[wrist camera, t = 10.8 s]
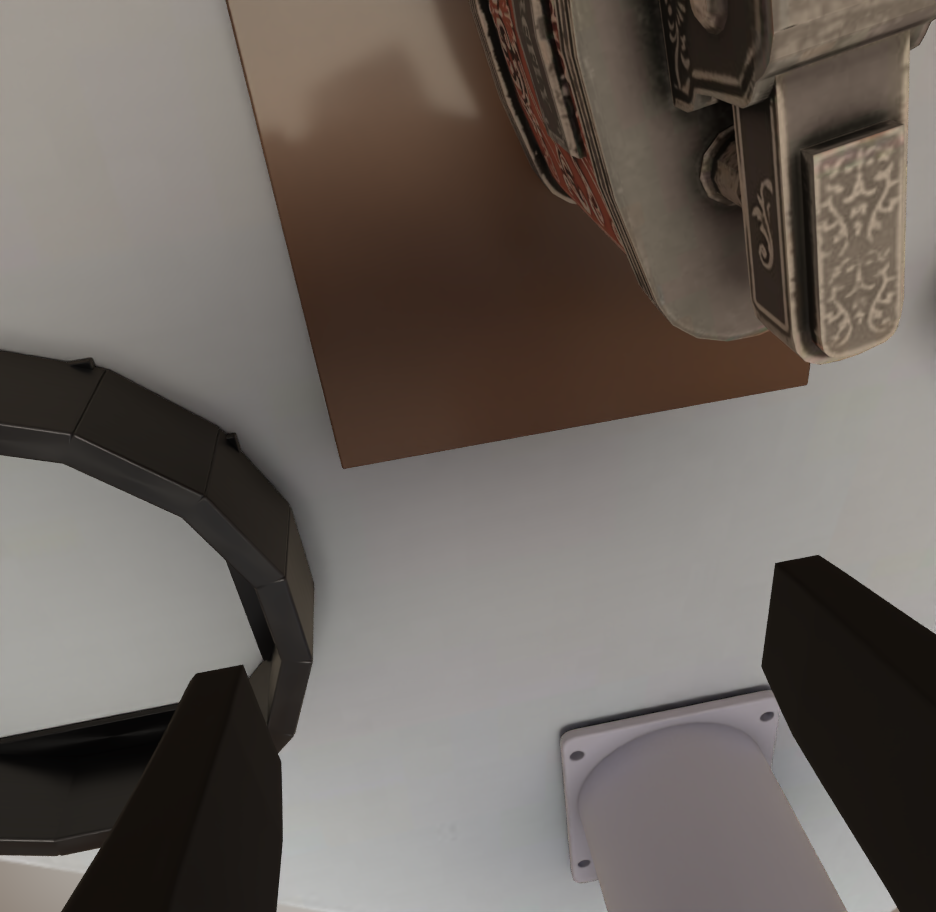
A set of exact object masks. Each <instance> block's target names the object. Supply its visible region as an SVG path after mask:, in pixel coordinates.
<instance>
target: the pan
mask: <svg viewBox="0 0 936 912" xmlns="http://www.w3.org/2000/svg"><path fill="white" fill-rule="evenodd" d="M0 455H4V456H11V457H19V458H26V459H33V460H41V461H48V462H55V463H63V464H65V465H67V466H70V467H72V468H74V469H76V470H78V471H81V472H83V473H85V474H87V475H89V476H92V477H94V478H96V479H98V480H100V481H103V482H105V483H107V484H109V485H111V486H114V487H116V488H118V489H120V490H122V491H125V492H127V493H129V494H131V495H133V496H136V497H138V498H140V499H142V500H144V501H147V502H149V503H151V504H153V505H155V506H158V507H160V508H162V509H164V510H166V511H168V512H171V513H173V514H175V515H177V516H179V517H182V518H183V519H184V520H185V521H186V522H187V523H188V524H189V525H190V526H191V527H192V528H193V529H194V530H195V531H196V532H197V533H198V534H199V535H200V536H201V537H202V538H203V539H204V540H205V541H206V542H207V543H208V544H209V545H211V546H212V547H213V548H214V549H215V550H216V551H217V552H218V553H219V554H220V555H221V556H222V557H223V558H224V559H225V560H226V562H227V565H228V568H229V570H230V573H231V576H232V578H233V581H234V584H235V586H236V589H237V591H238V594H239V597H240V599H241V602H242V605H243V607H244V610H245V613H246V615H247V618H248V621H249V623H250V626H251V629H252V631H253V634H254V637H255V639H256V642H257V644H258V647H259V650H260V652H261V655H262V658H263V660H264V661H263V662H262V663H261V665H260V666H259V667H258V668H257V669H256V671H255V672H254V673H253V674H252V675H251V677H250V678H249V681H250V684H251V686H252V689H253V691H254V694H255V696H256V699H257V701H258V704H259V707H260V709H261V712H262V714H263V717H264V719H265V722H266V724H267V727H268V730H269V732H270V735H271V737H272V740H273V742H274V745H275V747H276V750H277V753H279V752H280V751H281V750H282V748H283V747H284V746H285V745H286V744H287V743H288V742H289V741H290V740H291V739H292V737H293V736H294V734H295V732H296V728H297V724H298V720H299V716H300V712H301V708H302V704H303V699H304V695H305V691H306V687H307V683H308V679H309V675H310V671H311V667H312V663H313V623H314V582H313V579H312V575H311V572H310V569H309V566H308V562H307V559H306V556H305V552H304V549H303V546H302V542H301V539H300V536H299V533H298V529H297V526H296V523H295V519H294V516H293V513H292V509H291V507H290V506H289V503H288V502H287V501H286V500H285V499H284V498H283V497H282V496H281V494H280V493H279V492H278V491H277V490H276V489H275V488H274V487H273V486H272V485H271V483H270V482H269V481H268V480H267V479H266V478H265V477H264V476H263V475H262V474H261V472H260V471H259V470H258V469H257V468H256V467H255V466H254V465H253V464H252V463H251V461H250V460H249V459H248V458H247V457H246V456H245V455H244V454H243V453H242V452H241V449H240V446H239V443H238V440H237V436H236V434H235V433H232V434H225V433H224V432H223V431H222V430H221V429H219V427H218V426H216V425H214V424H212V423H210V422H208V421H206V420H204V419H202V418H201V417H199V416H197V415H195V414H193V413H191V412H189V411H187V410H185V409H183V408H181V407H179V406H177V405H175V404H174V403H172V402H170V401H168V400H166V399H164V398H162V397H160V396H158V395H156V394H154V393H152V392H150V391H148V390H147V389H145V388H143V387H141V386H139V385H137V384H135V383H133V382H131V381H129V380H127V379H125V378H123V377H122V376H120V375H118V374H116V373H114V372H112V371H110V370H105V369H104V368H99V367H95V365H94V363H93V361H92V359H91V358H88V359H82V360H76V361H71V362H63V361H57V360H51V359H45V358H39V357H33V356H27V355H21V354H15V353H9V352H3V351H0ZM177 706H178V704H176V705H171V706H166V707H161V708H156V709H151V710H146V711H141V712H135V713H130V714H125V715H120V716H115V717H110V718H105V719H100V720H95V721H90V722H85V723H79V724H74V725H69V726H64V727H59V728H54V729H49V730H44V731H39V732H34V733H29V734H23V735H18V736H13V737H8V738H3V739H0V855H23V856H58V855H61V856H63V855H68V854H72V853H77V852H82V851H87V850H92V849H97V848H101V847H102V845H103V843H104V841H105V840H106V838H107V836H108V835H109V833H110V831H111V829H112V828H113V826H114V824H115V822H116V820H117V819H118V817H119V815H120V813H121V812H122V810H123V808H124V806H125V804H126V803H127V801H128V799H129V797H130V796H131V794H132V792H133V790H134V788H135V787H136V785H137V783H138V781H139V780H140V778H141V776H142V774H143V772H144V770H145V768H146V766H147V765H148V763H149V761H150V759H151V757H152V755H153V753H154V751H155V750H156V748H157V746H158V744H159V742H160V740H161V738H162V736H163V734H164V732H165V730H166V728H167V726H168V724H169V722H170V720H171V718H172V716H173V714H174V712H175V710H176V708H177Z"/></svg>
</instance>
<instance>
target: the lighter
mask: <svg viewBox="0 0 936 912" xmlns="http://www.w3.org/2000/svg"><path fill="white" fill-rule="evenodd" d="M469 3H470V8H471V12H472V15H473V18H474V21H475V24H476V27H477V30H478V33H479V36H480V39H481V42H482V45H483V49H484V52H485V55H486V58H487V61H488V64H489V67H490V70H491V73H492V76H493V79H494V82H495V86H496V89H497V92H498V95H499V98H500V100H501V102H502V104H503V106H504V109H505V111H506V113H507V115H508V117H509V120H510V122H511V124H512V126H513V128H514V130H515V133H516V135H517V137H518V139H519V141H520V144H521V146H522V148H523V150H524V152H525V155H526V157H527V159H528V161H529V163H530V165H531V168H532V169H533V170H534V172H535V173H536V174H537V176H538V177H539V178H540V180H541V181H542V182H543V183H544V185H545V186H546V187H547V188H548V189H549V190H550V191H551V192H552V193H553V194H555V195H556V196H558V197H560V198H562V199H563V200H565V201H567V202H569V203H573V204H578V205H579V206H580V208H581V209H582V210H583V211H584V212H585V213H586V214H587V215H588V216H589V217H590V218H591V219H592V220H593V221H594V222H595V223H596V224H597V225H598V226H599V227H600V228H601V229H602V230H603V231H604V232H605V233H606V234H607V235H608V236H609V237H610V238H611V240H612V241H613V242H614V243H615V244H616V245H617V246H618V247H619V248H620V249H621V250H622V251H623V252H624V253H625V254H626V255H627V257H628V260H629V262H630V264H631V267H632V269H633V272H634V274H635V276H636V279H637V281H638V284H639V285H640V287H641V288H642V289H643V291H644V292H645V293H646V295H647V296H648V297H649V299H650V300H651V302H652V303H653V304H654V305H655V306H656V307H657V309H658V310H659V311H660V312H661V313H662V314H663V315H664V316H665V317H666V318H667V320H668V321H669V322H670V323H671V324H672V325H673V326H675V327H677V328H679V329H681V330H683V331H684V332H686V333H688V334H690V335H692V336H694V337H696V338H700V339H710V340H719V341H732V340H737V339H742V338H748V337H753V336H758V335H761V334H763V333H766V332H768V331H771V332H772V333H773V334H774V335H775V336H777V337H778V338H779V339H780V340H781V341H782V342H784V343H785V344H786V345H787V346H788V347H789V348H790V349H792V350H793V351H794V352H795V353H796V354H797V355H798V356H800V357H801V358H802V359H803V360H804V361H805V362H809V363H814V364H819V365H821V364H826V363H830V362H835V361H840V360H843V359H846V358H849V357H852V356H855V355H858V354H860V353H862V352H865V351H867V350H869V349H871V348H873V347H875V346H877V345H879V344H882V343H884V342H886V341H887V340H888V339H889V338H890V337H891V336H892V335H893V334H894V332H895V331H896V329H897V327H898V323H899V319H900V317H901V312H902V305H903V299H904V270H905V227H906V184H907V141H908V98H909V55H910V50H912V49H913V48H915V47H917V46H918V45H920V43H921V41H922V39H923V38H924V36H925V34H926V32H927V30H928V28H929V25H930V23H931V22H932V21H933V20H934V19H936V0H469Z"/></svg>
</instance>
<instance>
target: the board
mask: <svg viewBox="0 0 936 912" xmlns="http://www.w3.org/2000/svg"><path fill="white" fill-rule="evenodd" d="M226 4H227V8H228V12H229V16H230V20H231V24H232V28H233V32H234V36H235V40H236V44H237V48H238V52H239V57H240V61H241V65H242V69H243V73H244V77H245V81H246V85H247V89H248V93H249V97H250V101H251V105H252V109H253V113H254V117H255V121H256V125H257V129H258V133H259V137H260V141H261V145H262V149H263V153H264V157H265V161H266V165H267V169H268V173H269V177H270V181H271V185H272V189H273V193H274V197H275V201H276V205H277V209H278V213H279V217H280V221H281V225H282V229H283V233H284V237H285V241H286V245H287V249H288V253H289V257H290V261H291V265H292V269H293V273H294V277H295V281H296V285H297V289H298V293H299V297H300V301H301V305H302V309H303V313H304V317H305V321H306V325H307V329H308V333H309V337H310V341H311V345H312V349H313V353H314V357H315V361H316V365H317V369H318V373H319V377H320V381H321V385H322V389H323V393H324V397H325V401H326V405H327V409H328V413H329V417H330V421H331V425H332V430H333V434H334V438H335V442H336V446H337V450H338V454H339V458H340V462H341V466H342V468H343V469H346V468H352V467H357V466H363V465H368V464H374V463H379V462H385V461H390V460H396V459H401V458H407V457H412V456H418V455H423V454H429V453H434V452H440V451H445V450H451V449H456V448H462V447H467V446H473V445H478V444H484V443H489V442H495V441H501V440H506V439H512V438H517V437H523V436H528V435H534V434H539V433H545V432H550V431H556V430H561V429H567V428H572V427H578V426H583V425H589V424H594V423H600V422H605V421H611V420H616V419H622V418H627V417H633V416H638V415H644V414H650V413H655V412H661V411H666V410H672V409H677V408H683V407H688V406H694V405H699V404H705V403H710V402H716V401H721V400H727V399H732V398H738V397H743V396H749V395H754V394H760V393H765V392H771V391H776V390H782V389H787V388H793V387H799V386H804V385H807V384H808V377H809V370H810V363H809V362H805V361H804V360H803V359H802V358H801V357H800V356H798V355H797V354H796V353H795V352H794V351H793V350H792V349H790V348H789V347H788V346H787V345H786V344H785V343H784V342H782V341H781V340H780V339H779V338H778V337H777V336H775V335H774V334H773V333H772V332H771V331H768V332H766V333H763V334H761V335H758V336H753V337H748V338H742V339H737V340H732V341H719V340H710V339H700V338H696V337H694V336H692V335H690V334H688V333H686V332H684V331H683V330H681V329H679V328H677V327H675V326H673V325H672V324H671V323H670V322H669V321H668V320H667V318H666V317H665V316H664V315H663V314H662V313H661V312H660V311H659V310H658V309H657V307H656V306H655V305H654V304H653V303H652V302H651V300H650V299H649V297H648V296H647V295H646V293H645V292H644V291H643V289H642V288H641V287H640V285H639V284H638V281H637V279H636V276H635V274H634V272H633V269H632V267H631V264H630V262H629V260H628V257H627V255H626V254H625V253H624V252H623V251H622V250H621V249H620V248H619V247H618V246H617V245H616V244H615V243H614V242H613V241H612V240H611V238H610V237H609V236H608V235H607V234H606V233H605V232H604V231H603V230H602V229H601V228H600V227H599V226H598V225H597V224H596V223H595V222H594V221H593V220H592V219H591V218H590V217H589V216H588V215H587V214H586V213H585V212H584V211H583V210H582V209H581V208H580V206H579V205H578V204H573V203H569V202H567V201H565V200H563V199H562V198H560V197H558V196H556V195H555V194H553V193H552V192H551V191H550V190H549V189H548V188H547V187H546V186H545V185H544V183H543V182H542V181H541V180H540V178H539V177H538V176H537V174H536V173H535V172H534V170H533V169H532V168H531V165H530V163H529V161H528V159H527V157H526V155H525V152H524V150H523V148H522V146H521V144H520V141H519V139H518V137H517V135H516V133H515V130H514V128H513V126H512V124H511V122H510V120H509V117H508V115H507V113H506V111H505V109H504V106H503V104H502V102H501V100H500V98H499V95H498V92H497V89H496V86H495V82H494V79H493V76H492V73H491V70H490V67H489V64H488V61H487V58H486V55H485V52H484V49H483V45H482V42H481V39H480V36H479V33H478V30H477V27H476V24H475V21H474V18H473V15H472V12H471V8H470V3H469V0H226Z"/></svg>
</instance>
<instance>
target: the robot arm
mask: <svg viewBox="0 0 936 912" xmlns="http://www.w3.org/2000/svg"><path fill="white" fill-rule="evenodd" d="M761 667H762V669H763V671H764V674H765V676H766V678H767V680H768V683H769V685H770V687H771V690H772V691H771V690H764V691H759V692H754V693H749V694H744V695H740V696H735V697H730V698H725V699H720V700H715V701H710V702H705V703H700V704H696V705H691V706H686V707H681V708H676V709H671V710H666V711H661V712H656V713H652V714H647V715H642V716H637V717H632V718H627V719H622V720H617V721H612V722H607V723H603V724H598V725H593V726H588V727H583V728H578V729H573V730H570V731H568V732H566V733H565V734H564V735H563V736H562V737H561V739H560V748H561V759H562V771H563V783H564V795H565V807H566V819H567V830H568V842H569V854H570V866H571V873H572V877H573V880H574V881H575V882H577V883H587V882H592V881H596V880H599V883H600V887H601V890H602V894H603V897H604V901H605V904H606V908H607V911H608V912H848V911H847V910H846V908H845V906H844V904H843V902H842V900H841V898H840V897H839V895H838V893H837V891H836V889H835V887H834V885H833V884H832V882H831V880H830V878H829V876H828V874H827V872H826V871H825V869H824V867H823V865H822V863H821V861H820V859H819V858H818V856H817V854H816V852H815V850H814V848H813V846H812V845H811V843H810V841H809V839H808V837H807V835H806V833H805V832H804V830H803V828H802V826H801V824H800V822H799V820H798V819H797V817H796V815H795V813H794V811H793V809H792V807H791V806H790V804H789V802H788V800H787V798H786V796H785V794H784V793H783V791H782V789H781V787H780V785H779V783H778V781H777V780H776V778H775V776H774V774H773V772H772V770H771V767H772V760H773V753H774V747H775V740H776V734H777V727H778V721H779V714H780V709H781V712H782V714H783V716H784V718H785V720H786V722H787V724H788V726H789V728H790V731H791V733H792V735H793V737H794V738H795V740H796V742H797V743H798V745H799V747H800V748H801V750H802V752H803V753H804V755H805V757H806V758H807V760H808V762H809V763H810V765H811V767H812V768H813V770H814V772H815V773H816V775H817V776H818V778H819V780H820V781H821V783H822V785H823V786H824V788H825V790H826V791H827V793H828V795H829V796H830V798H831V799H832V801H833V803H834V804H835V806H836V808H837V809H838V811H839V812H840V814H841V816H842V817H843V819H844V820H845V822H846V824H847V825H848V827H849V829H850V830H851V832H852V833H853V835H854V837H855V838H856V840H857V842H858V843H859V845H860V846H861V848H862V850H863V851H864V853H865V855H866V856H867V858H868V859H869V861H870V863H871V864H872V866H873V867H874V869H875V871H876V872H877V874H878V876H879V877H880V879H881V880H882V882H883V884H884V885H885V887H886V889H887V890H888V892H889V894H890V895H891V897H892V899H893V901H894V902H895V904H896V906H897V908H898V909H899V911H900V912H936V634H934V633H933V632H931V631H930V630H928V629H927V628H925V627H924V626H922V625H921V624H919V623H918V622H917V621H915V620H914V619H912V618H911V617H909V616H908V615H906V614H905V613H903V612H902V611H900V610H899V609H897V608H896V607H894V606H893V605H892V604H890V603H889V602H887V601H886V600H884V599H883V598H881V597H880V596H878V595H877V594H875V593H874V592H873V591H871V590H870V589H868V588H867V587H865V586H864V585H862V584H861V583H860V582H858V581H857V580H855V579H854V578H852V577H851V576H849V575H848V574H846V573H845V572H843V571H842V570H841V569H839V568H838V567H836V566H835V565H833V564H832V563H830V562H829V561H827V560H826V559H824V558H822V557H821V556H819V555H815V556H810V557H805V558H800V559H794V560H789V561H784V562H779V563H775V569H774V577H773V584H772V592H771V599H770V606H769V614H768V621H767V629H766V636H765V643H764V651H763V658H762V666H761ZM282 842H283V820H282V772H281V760H280V758H279V755H278V753H277V750H276V747H275V745H274V742H273V740H272V737H271V735H270V732H269V730H268V727H267V724H266V722H265V719H264V717H263V714H262V712H261V709H260V707H259V704H258V701H257V699H256V696H255V694H254V691H253V689H252V686H251V684H250V681H249V678H248V676H247V673H246V671H245V668H244V666H243V665H239V666H233V667H228V668H223V669H218V670H212V671H207V672H202V673H197V674H195V676H194V677H193V678H192V679H191V681H190V682H189V684H188V686H187V688H186V690H185V692H184V694H183V696H182V698H181V700H180V702H179V704H178V706H177V708H176V710H175V712H174V714H173V716H172V718H171V720H170V722H169V724H168V726H167V728H166V730H165V732H164V734H163V736H162V738H161V740H160V742H159V744H158V746H157V748H156V750H155V751H154V753H153V755H152V757H151V759H150V761H149V763H148V765H147V766H146V768H145V770H144V772H143V774H142V776H141V778H140V780H139V781H138V783H137V785H136V787H135V788H134V790H133V792H132V794H131V796H130V797H129V799H128V801H127V803H126V804H125V806H124V808H123V810H122V812H121V813H120V815H119V817H118V819H117V820H116V822H115V824H114V826H113V828H112V829H111V831H110V833H109V835H108V836H107V838H106V840H105V841H104V843H103V845H102V847H101V848H100V850H99V852H98V853H97V855H96V856H95V858H94V860H93V861H92V863H91V864H90V866H89V868H88V869H87V871H86V873H85V874H84V876H83V878H82V879H81V881H80V882H79V884H78V886H77V887H76V889H75V890H74V892H73V894H72V895H71V897H70V899H69V900H68V902H67V903H66V905H65V907H64V908H63V910H62V911H61V912H276V910H277V899H278V888H279V877H280V866H281V854H282Z"/></svg>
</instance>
